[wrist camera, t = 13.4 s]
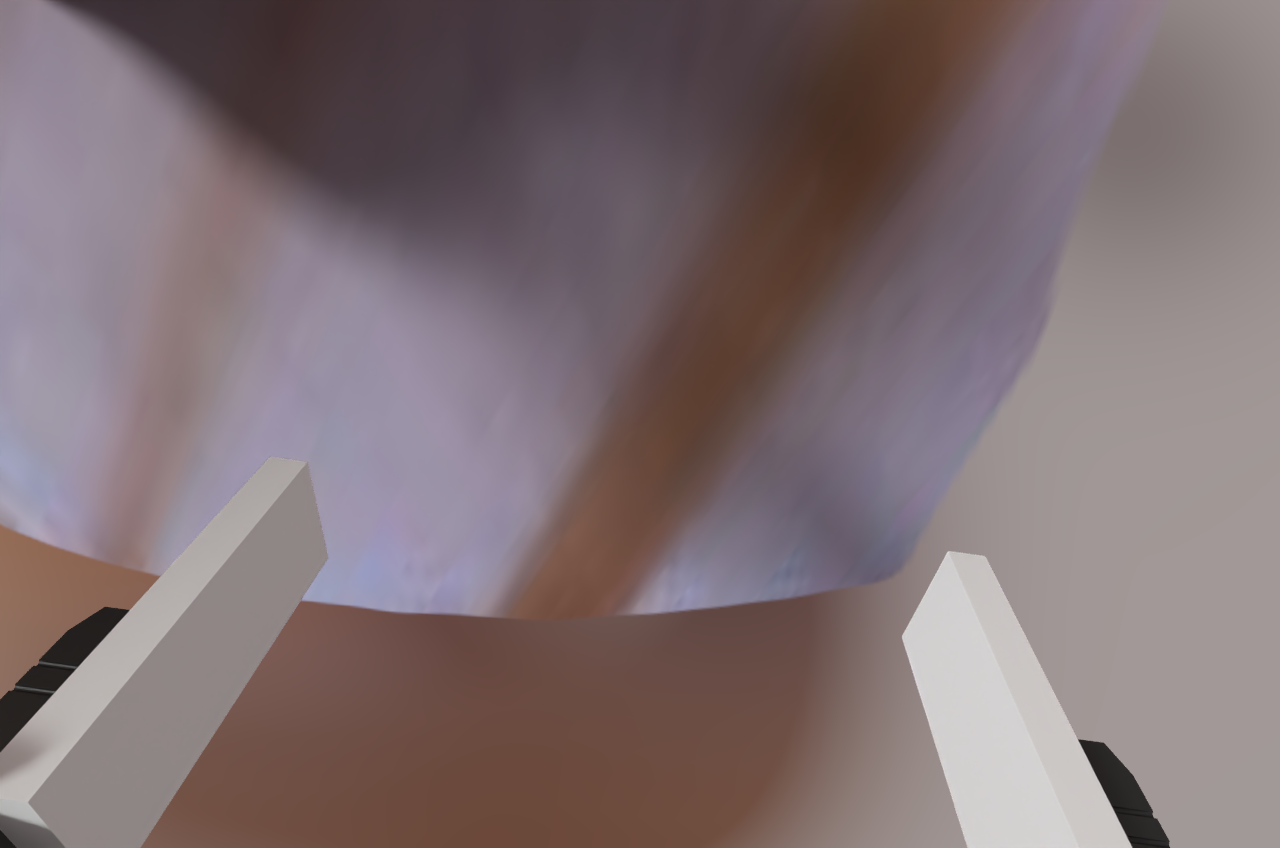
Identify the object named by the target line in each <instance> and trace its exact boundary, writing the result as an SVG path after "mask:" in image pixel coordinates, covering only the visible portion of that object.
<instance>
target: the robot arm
mask: <svg viewBox="0 0 1280 848" xmlns="http://www.w3.org/2000/svg"><path fill="white" fill-rule="evenodd" d="M327 559H328V554H327V549H326V544H325V540H324V535H323V531H322V526H321V521H320V517H319V512H318V508H317V503H316V498H315V494H314V489H313V485H312V480H311V475H310V471H309V466H308V462H305V461H297V460H290V459H283V458H276V457H269V458H268V459H267V461H266V462H265V463H264V464H263V465H262V466H261V467H260V468H259V469H258V470H257V472H256V473H255V474H254V475H253V476H252V477H251V478H250V479H249V480H248V481H247V482H246V484H245V485H244V486H243V487H242V488H241V489H240V490H239V491H238V492H237V493H236V495H235V496H234V497H233V498H232V499H231V500H230V501H229V502H228V503H227V504H226V506H225V507H224V508H223V509H222V510H221V511H220V512H219V513H218V514H217V515H216V516H215V518H214V519H213V520H212V521H211V522H210V523H209V524H208V525H207V526H206V527H205V529H204V530H203V531H202V532H201V533H200V534H199V535H198V536H197V537H196V538H195V540H194V541H193V542H192V543H191V544H190V545H189V546H188V547H187V548H186V549H185V550H184V552H183V553H182V554H181V555H180V556H179V557H178V558H177V559H176V560H175V561H174V563H173V564H172V565H171V566H170V567H169V568H168V569H167V570H166V571H165V572H164V574H163V575H162V576H161V577H160V578H159V579H158V580H157V581H156V582H155V584H154V585H153V586H152V587H151V588H150V589H149V590H148V591H147V592H146V593H145V595H144V596H143V597H142V598H141V599H140V600H139V601H138V602H137V603H136V604H135V605H134V607H133V608H132V609H131V610H125V609H118V608H110V607H104V608H103V609H101V610H99V611H98V612H96V613H95V614H93V615H92V616H90V617H88V618H87V619H85V620H84V621H82V622H81V623H79V624H77V625H76V626H74V627H73V628H71V629H70V630H68V631H67V632H66V633H65V634H64V635H63V636H62V637H61V638H60V639H59V640H58V641H57V642H56V643H55V644H54V645H53V646H52V647H51V648H50V649H49V650H48V651H47V652H46V654H45V655H43V656H42V658H41V659H40V660H39V664H38V665H37V666H33V667H32V668H31V669H30V670H29V671H28V672H27V673H26V674H25V675H24V676H23V677H22V678H21V679H20V680H19V681H18V682H17V683H16V684H15V688H14V690H12V691H8V692H7V693H6V694H5V695H4V696H3V697H2V699H0V848H141V846H142V844H143V843H144V841H145V840H146V838H147V836H148V835H149V834H150V832H151V831H152V829H153V827H154V826H155V824H156V823H157V821H158V820H159V818H160V817H161V815H162V814H163V812H164V811H165V809H166V807H167V806H168V804H169V803H170V801H171V800H172V798H173V797H174V795H175V794H176V792H177V790H178V789H179V787H180V786H181V784H182V783H183V781H184V780H185V778H186V777H187V775H188V773H189V772H190V770H191V769H192V767H193V766H194V764H195V763H196V761H197V760H198V758H199V756H200V755H201V753H202V752H203V750H204V749H205V747H206V745H207V744H208V743H209V741H210V739H211V738H212V736H213V735H214V733H215V732H216V730H217V729H218V727H219V725H220V724H221V722H222V721H223V719H224V718H225V716H226V715H227V713H228V711H229V710H230V709H231V707H232V706H233V704H234V702H235V701H236V699H237V698H238V696H239V695H240V693H241V692H242V690H243V689H244V687H245V686H246V684H247V682H248V681H249V679H250V678H251V676H252V675H253V673H254V672H255V670H256V669H257V667H258V665H259V664H260V662H261V660H262V659H263V658H264V656H265V655H266V653H267V652H268V650H269V649H270V647H271V645H272V644H273V642H274V641H275V639H276V638H277V636H278V635H279V633H280V632H281V630H282V628H283V627H284V625H285V624H286V622H287V621H288V619H289V618H290V616H291V615H292V613H293V611H294V610H295V608H296V607H297V605H298V604H299V602H300V601H301V599H302V598H303V596H304V595H305V593H306V591H307V590H308V588H309V587H310V585H311V584H312V582H313V581H314V579H315V578H316V576H317V574H318V573H319V571H320V570H321V568H322V567H323V565H324V564H325V562H326V561H327ZM902 640H903V643H904V646H905V649H906V653H907V656H908V659H909V662H910V665H911V668H912V672H913V675H914V678H915V681H916V684H917V687H918V691H919V694H920V697H921V700H922V704H923V707H924V710H925V713H926V716H927V719H928V722H929V726H930V729H931V732H932V736H933V739H934V742H935V745H936V748H937V751H938V755H939V758H940V761H941V764H942V767H943V771H944V774H945V777H946V780H947V784H948V787H949V790H950V793H951V796H952V800H953V803H954V806H955V809H956V812H957V815H958V819H959V822H960V825H961V828H962V832H963V835H964V838H965V841H966V844H967V848H1170V847H1169V840H1168V838H1167V836H1166V834H1165V833H1164V831H1163V829H1162V827H1161V825H1160V823H1159V821H1158V820H1157V819H1155V818H1154V817H1153V815H1152V813H1153V811H1152V809H1151V807H1150V805H1149V803H1148V801H1147V800H1146V798H1145V796H1144V794H1143V792H1142V791H1141V789H1140V787H1139V785H1138V783H1137V782H1136V780H1135V778H1134V776H1133V775H1132V774H1131V773H1130V772H1129V770H1128V769H1127V768H1126V767H1125V766H1124V765H1123V764H1122V763H1121V761H1120V760H1119V759H1118V758H1117V757H1116V756H1115V755H1114V754H1113V752H1112V751H1111V750H1110V749H1109V748H1108V747H1107V746H1106V745H1105V744H1104V743H1100V742H1093V741H1086V740H1078V739H1077V737H1076V735H1075V733H1074V731H1073V729H1072V727H1071V725H1070V723H1069V721H1068V719H1067V717H1066V715H1065V713H1064V711H1063V709H1062V707H1061V705H1060V703H1059V701H1058V700H1057V697H1056V695H1055V693H1054V691H1053V689H1052V687H1051V685H1050V683H1049V682H1048V679H1047V677H1046V675H1045V673H1044V671H1043V670H1042V667H1041V666H1040V663H1039V662H1038V660H1037V658H1036V656H1035V654H1034V652H1033V650H1032V648H1031V646H1030V644H1029V642H1028V640H1027V638H1026V636H1025V634H1024V632H1023V630H1022V628H1021V626H1020V624H1019V622H1018V620H1017V618H1016V616H1015V614H1014V612H1013V610H1012V608H1011V606H1010V604H1009V602H1008V600H1007V598H1006V596H1005V594H1004V592H1003V590H1002V589H1001V586H1000V584H999V582H998V580H997V578H996V576H995V574H994V572H993V570H992V569H991V566H990V564H989V563H988V560H987V558H986V556H981V555H974V554H967V553H959V552H953V551H948V552H947V554H946V556H945V558H944V560H943V561H942V563H941V565H940V567H939V569H938V571H937V572H936V574H935V576H934V578H933V580H932V582H931V583H930V585H929V587H928V589H927V591H926V593H925V595H924V596H923V598H922V600H921V602H920V604H919V606H918V608H917V610H916V611H915V613H914V615H913V617H912V619H911V621H910V623H909V624H908V626H907V628H906V630H905V632H904V634H903V635H902Z"/></svg>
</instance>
